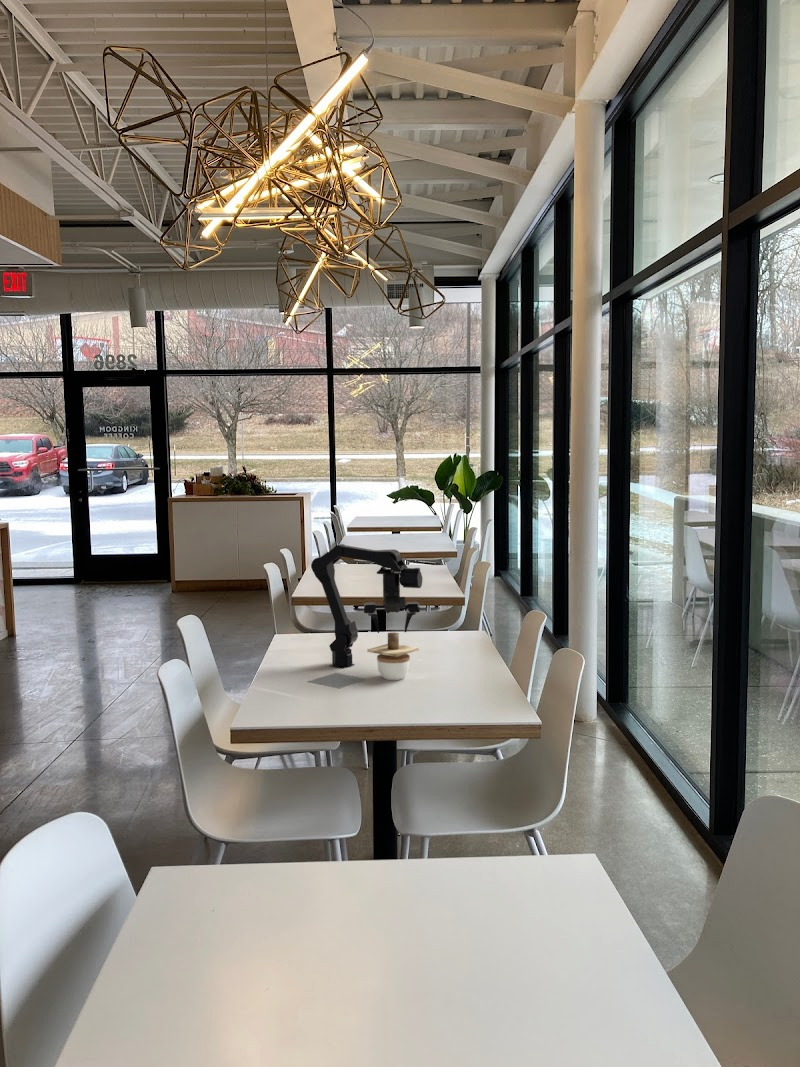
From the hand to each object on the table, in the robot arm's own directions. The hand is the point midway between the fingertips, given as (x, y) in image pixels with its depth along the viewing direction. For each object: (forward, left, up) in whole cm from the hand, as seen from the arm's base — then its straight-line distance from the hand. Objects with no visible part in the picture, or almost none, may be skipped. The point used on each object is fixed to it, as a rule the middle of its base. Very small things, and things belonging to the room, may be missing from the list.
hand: (391, 632), depth 303 cm
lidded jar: (+8, -9, -13) cm, 18 cm away
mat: (-5, -22, -13) cm, 26 cm away
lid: (+8, -9, -4) cm, 13 cm away
